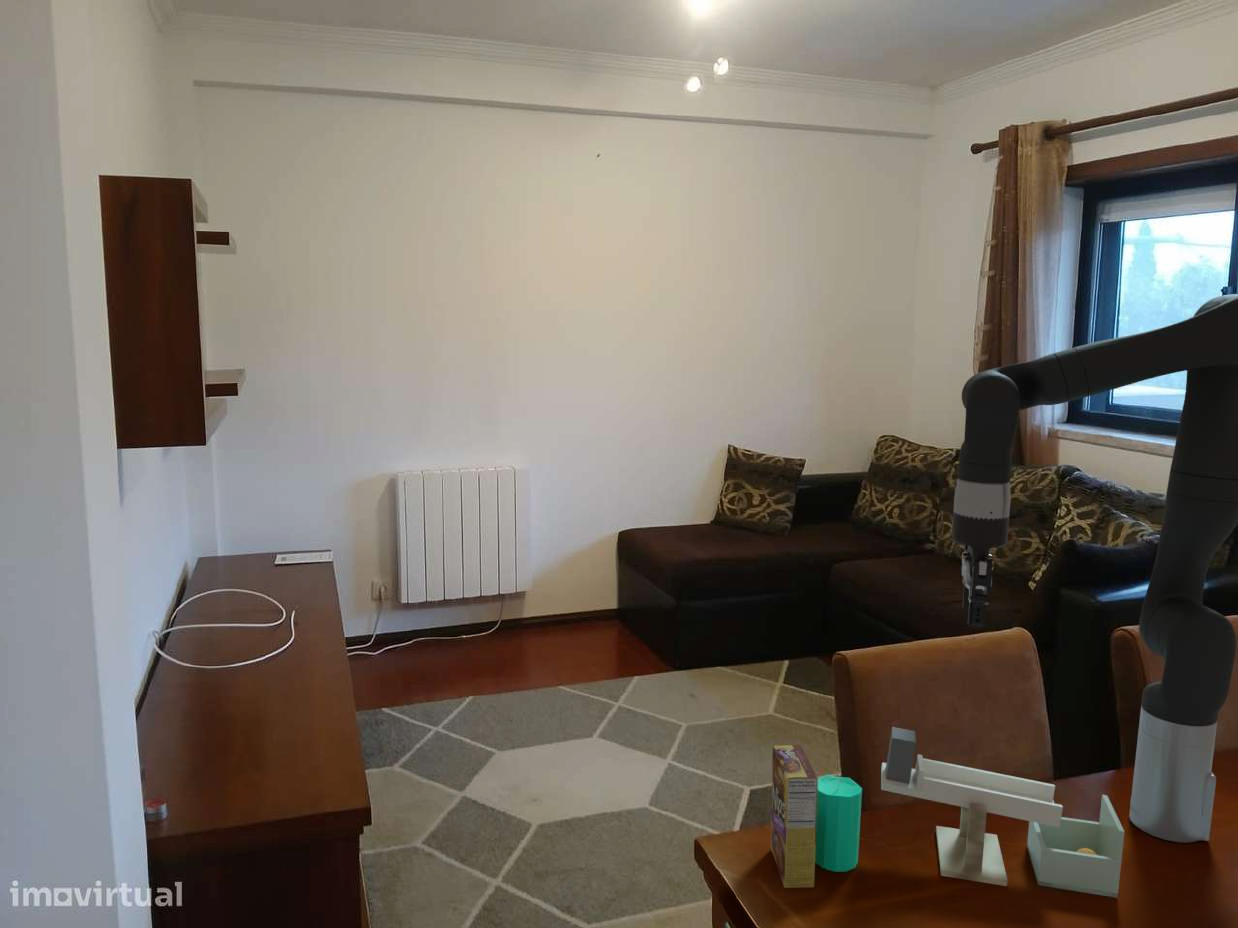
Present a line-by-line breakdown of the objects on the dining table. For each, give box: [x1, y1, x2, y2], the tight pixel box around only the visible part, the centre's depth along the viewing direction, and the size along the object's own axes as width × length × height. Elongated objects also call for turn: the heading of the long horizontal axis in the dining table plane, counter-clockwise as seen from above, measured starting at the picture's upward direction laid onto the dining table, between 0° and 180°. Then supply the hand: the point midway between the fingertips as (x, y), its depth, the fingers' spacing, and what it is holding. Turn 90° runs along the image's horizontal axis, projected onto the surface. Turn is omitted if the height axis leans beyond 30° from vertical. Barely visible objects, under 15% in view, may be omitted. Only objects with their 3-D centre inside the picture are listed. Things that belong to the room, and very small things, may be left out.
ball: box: [1077, 848, 1097, 855], centre depth 120 cm, size 3×3×3 cm
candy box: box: [770, 744, 819, 889], centre depth 120 cm, size 9×4×15 cm, turn 2°
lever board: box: [880, 726, 1064, 827], centre depth 123 cm, size 22×7×8 cm, turn 75°
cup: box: [1026, 794, 1125, 899], centre depth 121 cm, size 9×9×9 cm
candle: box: [815, 774, 863, 873], centre depth 123 cm, size 6×6×12 cm
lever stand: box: [935, 803, 1008, 887], centre depth 124 cm, size 8×11×10 cm
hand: (972, 618), depth 136 cm, fingers open, 8 cm apart
